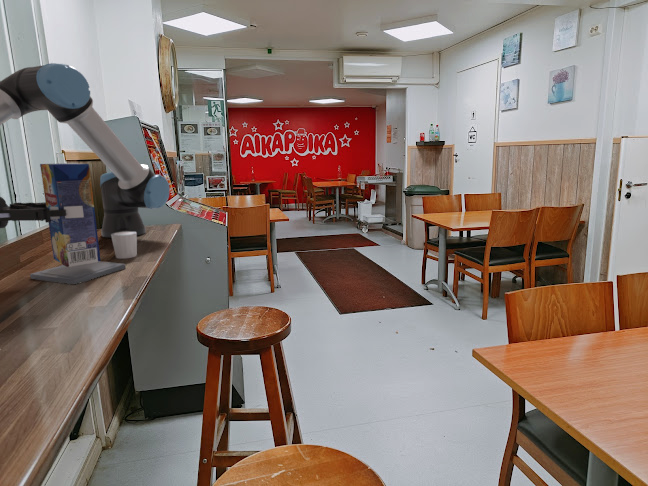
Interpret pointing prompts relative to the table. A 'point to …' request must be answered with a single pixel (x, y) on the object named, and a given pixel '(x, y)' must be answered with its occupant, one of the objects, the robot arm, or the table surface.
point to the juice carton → (71, 233)
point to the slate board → (77, 272)
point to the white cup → (125, 244)
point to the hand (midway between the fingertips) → (88, 208)
